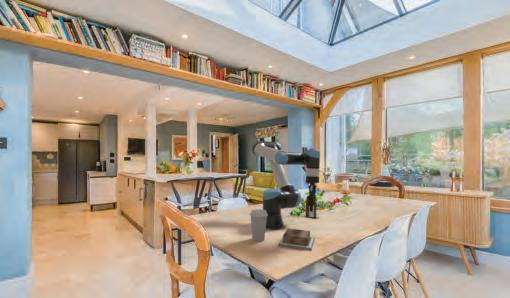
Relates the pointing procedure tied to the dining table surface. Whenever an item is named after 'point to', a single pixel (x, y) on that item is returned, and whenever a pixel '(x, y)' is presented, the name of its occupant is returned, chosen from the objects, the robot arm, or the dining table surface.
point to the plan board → (298, 245)
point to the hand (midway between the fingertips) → (311, 215)
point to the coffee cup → (258, 224)
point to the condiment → (308, 209)
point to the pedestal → (296, 237)
